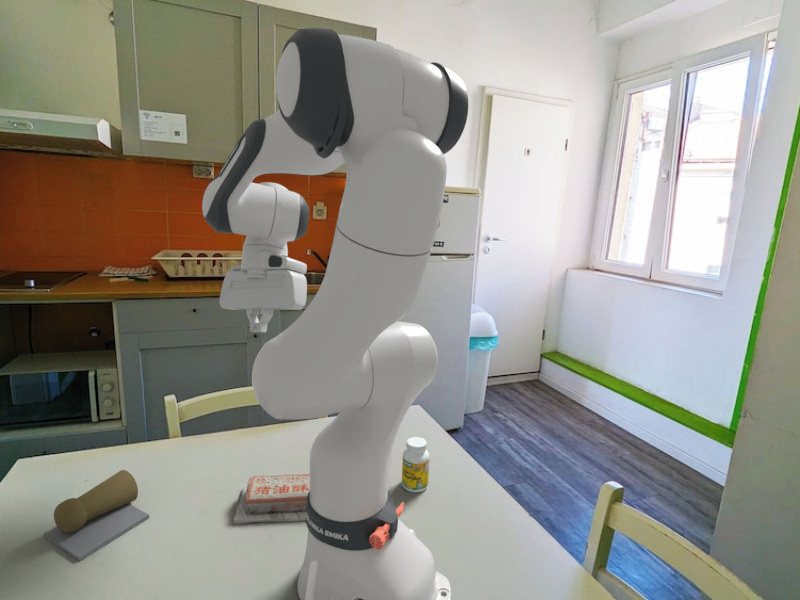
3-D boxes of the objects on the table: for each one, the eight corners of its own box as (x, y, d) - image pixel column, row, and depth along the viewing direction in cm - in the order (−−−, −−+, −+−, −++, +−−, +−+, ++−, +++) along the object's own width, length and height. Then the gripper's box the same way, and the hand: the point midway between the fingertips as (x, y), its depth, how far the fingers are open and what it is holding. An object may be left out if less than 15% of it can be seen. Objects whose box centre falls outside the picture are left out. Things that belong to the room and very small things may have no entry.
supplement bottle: (431, 481, 89) (433, 438, 87) (423, 496, 84) (425, 451, 82) (406, 474, 91) (408, 432, 89) (397, 489, 86) (399, 445, 84)
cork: (128, 506, 79) (60, 545, 70) (112, 478, 80) (43, 512, 71) (142, 493, 77) (74, 531, 67) (125, 464, 78) (56, 497, 68)
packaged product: (338, 464, 86) (338, 497, 76) (338, 486, 87) (337, 521, 77) (244, 467, 83) (231, 501, 74) (245, 490, 84) (232, 526, 75)
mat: (149, 517, 75) (149, 514, 75) (79, 561, 65) (79, 557, 65) (114, 498, 79) (114, 495, 79) (44, 537, 70) (43, 533, 70)
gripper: (215, 263, 90) (208, 329, 88) (292, 258, 81) (286, 332, 79) (239, 269, 95) (232, 331, 94) (313, 265, 86) (308, 334, 85)
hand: (258, 332), depth 86 cm, fingers closed
